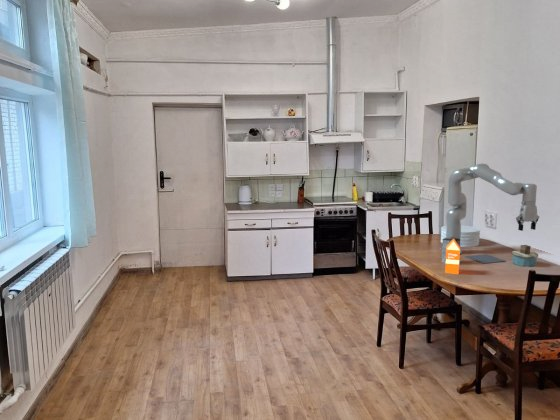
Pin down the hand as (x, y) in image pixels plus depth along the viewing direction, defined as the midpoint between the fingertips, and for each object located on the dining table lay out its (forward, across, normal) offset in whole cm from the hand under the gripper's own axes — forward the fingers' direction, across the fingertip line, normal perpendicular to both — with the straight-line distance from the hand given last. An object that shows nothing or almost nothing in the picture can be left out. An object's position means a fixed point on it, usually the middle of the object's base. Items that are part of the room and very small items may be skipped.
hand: (526, 229), depth 289 cm
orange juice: (+22, -55, -1) cm, 59 cm away
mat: (+22, -16, +17) cm, 32 cm away
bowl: (+22, 0, 0) cm, 22 cm away
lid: (+16, 0, 0) cm, 16 cm away
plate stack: (+22, 0, +64) cm, 68 cm away
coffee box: (+22, -43, +17) cm, 51 cm away
